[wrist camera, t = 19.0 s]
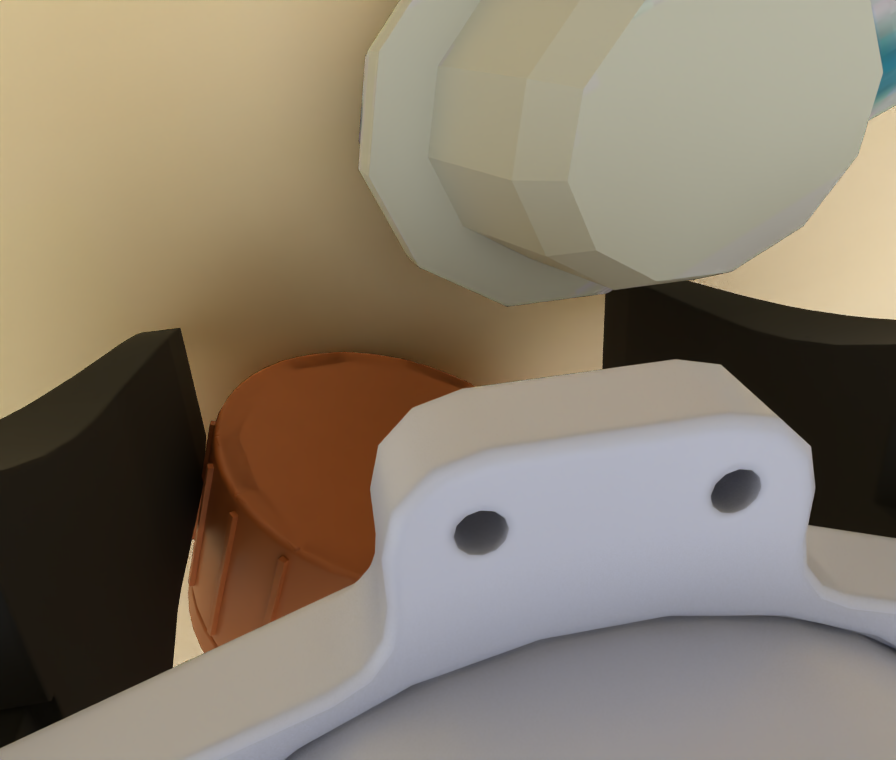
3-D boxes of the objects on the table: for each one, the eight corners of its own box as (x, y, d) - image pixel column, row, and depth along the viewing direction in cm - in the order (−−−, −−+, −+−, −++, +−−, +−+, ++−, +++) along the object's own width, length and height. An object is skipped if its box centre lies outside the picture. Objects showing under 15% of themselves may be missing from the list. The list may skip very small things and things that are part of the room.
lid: (633, 487, 13) (563, 617, 15) (385, 320, 16) (349, 451, 17) (424, 676, 9) (359, 830, 11) (125, 407, 11) (111, 569, 13)
